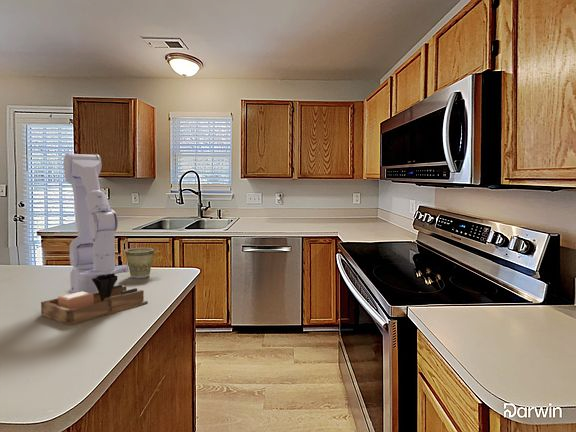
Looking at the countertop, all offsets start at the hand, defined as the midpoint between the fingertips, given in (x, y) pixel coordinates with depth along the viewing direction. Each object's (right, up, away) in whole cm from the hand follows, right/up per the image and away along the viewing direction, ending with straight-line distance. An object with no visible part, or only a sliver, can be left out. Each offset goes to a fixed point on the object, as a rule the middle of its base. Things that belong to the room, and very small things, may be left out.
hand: (105, 301), depth 127 cm
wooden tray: (-1, -2, -2) cm, 3 cm away
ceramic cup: (-1, +2, +39) cm, 39 cm away
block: (-5, -2, -7) cm, 9 cm away
